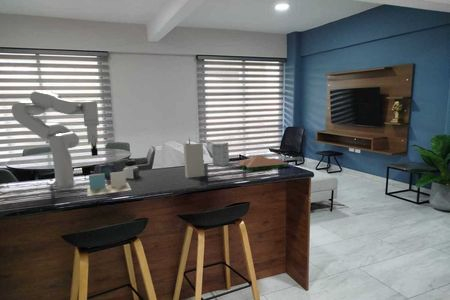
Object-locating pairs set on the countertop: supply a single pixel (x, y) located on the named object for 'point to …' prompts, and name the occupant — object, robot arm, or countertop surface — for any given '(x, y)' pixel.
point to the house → (260, 162)
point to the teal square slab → (97, 181)
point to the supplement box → (220, 154)
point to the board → (108, 190)
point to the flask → (106, 169)
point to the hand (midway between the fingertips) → (94, 155)
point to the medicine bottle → (131, 169)
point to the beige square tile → (118, 179)
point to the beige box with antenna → (193, 160)
